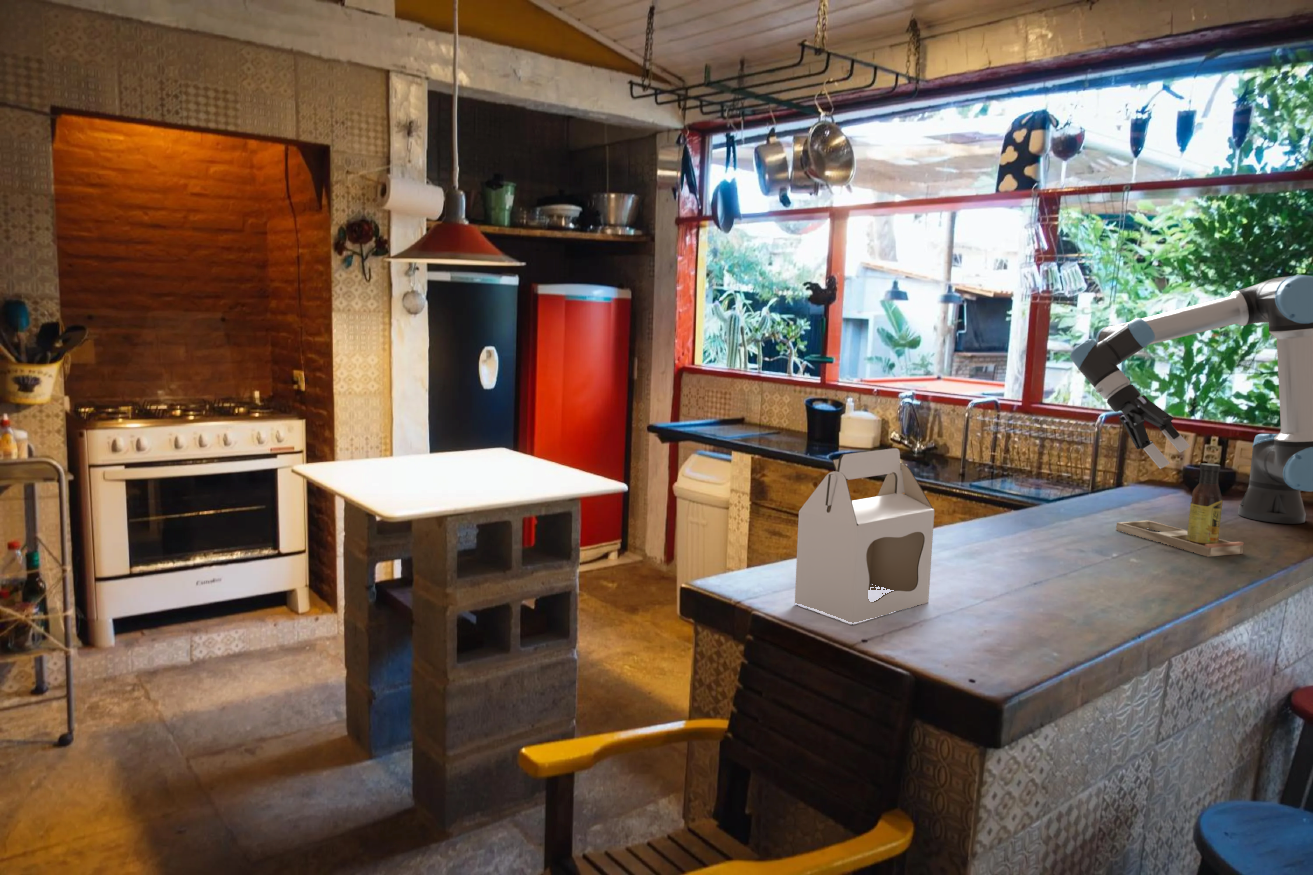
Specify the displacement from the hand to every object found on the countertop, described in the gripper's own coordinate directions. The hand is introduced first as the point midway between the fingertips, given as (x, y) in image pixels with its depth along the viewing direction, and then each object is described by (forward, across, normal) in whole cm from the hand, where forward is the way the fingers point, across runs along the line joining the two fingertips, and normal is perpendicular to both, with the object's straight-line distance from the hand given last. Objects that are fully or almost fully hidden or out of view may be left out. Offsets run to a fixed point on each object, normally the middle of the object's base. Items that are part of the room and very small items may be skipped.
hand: (1175, 458), depth 226 cm
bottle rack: (+17, +4, -15) cm, 23 cm away
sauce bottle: (+21, +9, -14) cm, 27 cm away
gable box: (-1, +66, -94) cm, 115 cm away
